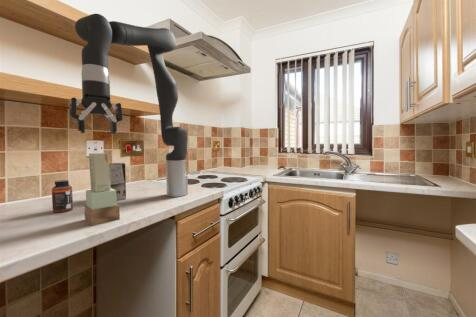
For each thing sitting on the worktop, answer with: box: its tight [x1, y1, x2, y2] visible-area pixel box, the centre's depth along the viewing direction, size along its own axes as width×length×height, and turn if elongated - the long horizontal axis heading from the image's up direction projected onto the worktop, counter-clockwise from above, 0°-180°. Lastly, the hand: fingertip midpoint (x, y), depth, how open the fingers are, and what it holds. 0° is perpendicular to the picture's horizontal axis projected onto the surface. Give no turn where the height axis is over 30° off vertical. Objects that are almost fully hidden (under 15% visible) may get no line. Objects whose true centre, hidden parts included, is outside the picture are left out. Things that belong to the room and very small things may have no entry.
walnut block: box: [83, 203, 121, 227], centre depth 73 cm, size 8×8×5 cm
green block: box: [85, 188, 118, 210], centre depth 72 cm, size 7×7×5 cm
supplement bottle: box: [51, 179, 74, 213], centre depth 82 cm, size 6×6×11 cm
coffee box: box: [109, 162, 127, 201], centre depth 101 cm, size 9×6×16 cm
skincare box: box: [88, 152, 111, 192], centre depth 72 cm, size 6×4×12 cm
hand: (98, 133), depth 71 cm, fingers open, 8 cm apart
